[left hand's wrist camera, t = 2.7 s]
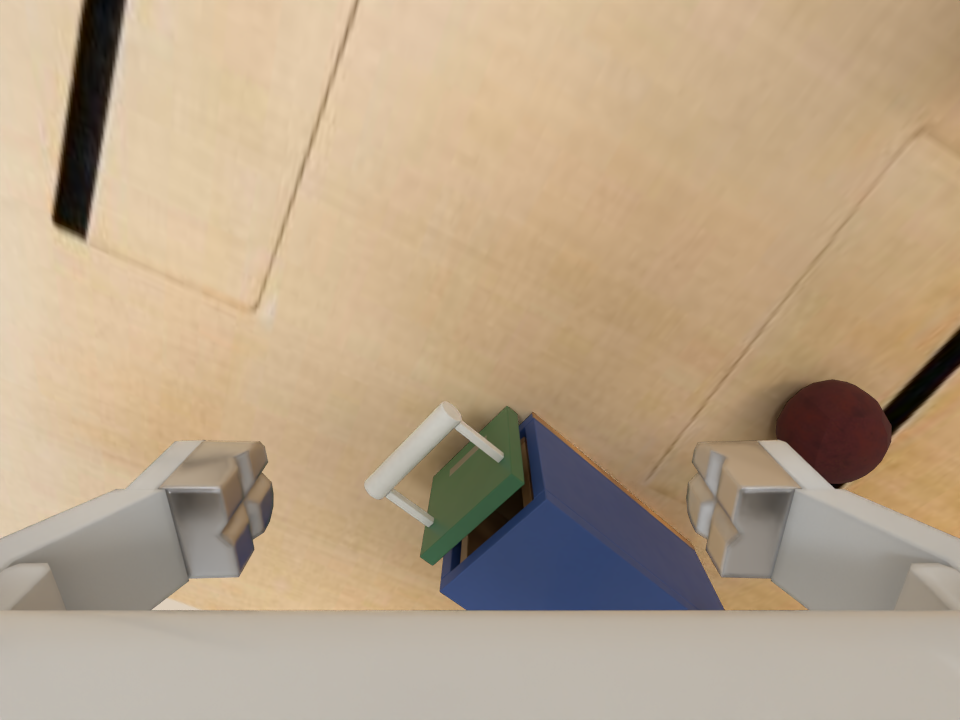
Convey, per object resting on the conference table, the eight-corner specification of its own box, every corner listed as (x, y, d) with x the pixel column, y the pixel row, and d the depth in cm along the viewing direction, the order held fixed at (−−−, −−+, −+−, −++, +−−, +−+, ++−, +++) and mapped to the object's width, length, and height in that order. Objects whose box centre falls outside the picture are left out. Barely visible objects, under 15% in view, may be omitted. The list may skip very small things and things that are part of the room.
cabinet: (450, 489, 47) (438, 592, 36) (532, 411, 44) (546, 498, 33) (607, 606, 52) (638, 726, 41) (691, 543, 49) (748, 656, 38)
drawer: (379, 436, 44) (351, 510, 35) (452, 360, 41) (442, 419, 32) (587, 591, 50) (607, 687, 41) (662, 533, 47) (702, 622, 38)
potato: (752, 450, 45) (796, 503, 38) (769, 366, 42) (821, 407, 35) (840, 450, 45) (900, 502, 38) (864, 365, 42) (933, 406, 35)
